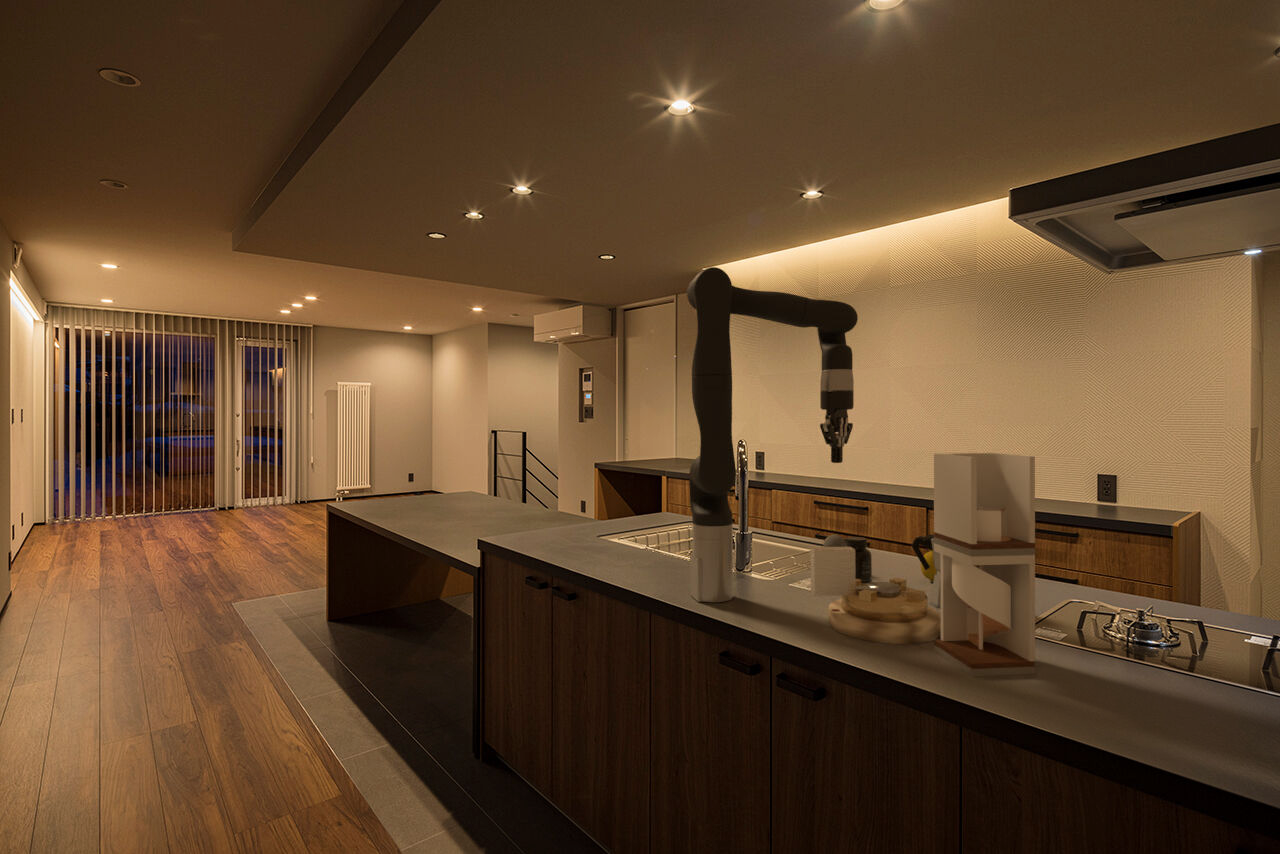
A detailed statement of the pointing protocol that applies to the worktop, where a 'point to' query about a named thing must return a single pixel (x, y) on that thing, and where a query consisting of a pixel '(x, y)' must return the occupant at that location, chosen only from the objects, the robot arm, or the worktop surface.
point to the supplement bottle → (861, 558)
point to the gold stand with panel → (863, 588)
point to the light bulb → (834, 541)
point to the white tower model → (986, 561)
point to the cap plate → (885, 627)
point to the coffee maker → (929, 544)
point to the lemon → (930, 571)
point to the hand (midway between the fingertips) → (836, 462)
